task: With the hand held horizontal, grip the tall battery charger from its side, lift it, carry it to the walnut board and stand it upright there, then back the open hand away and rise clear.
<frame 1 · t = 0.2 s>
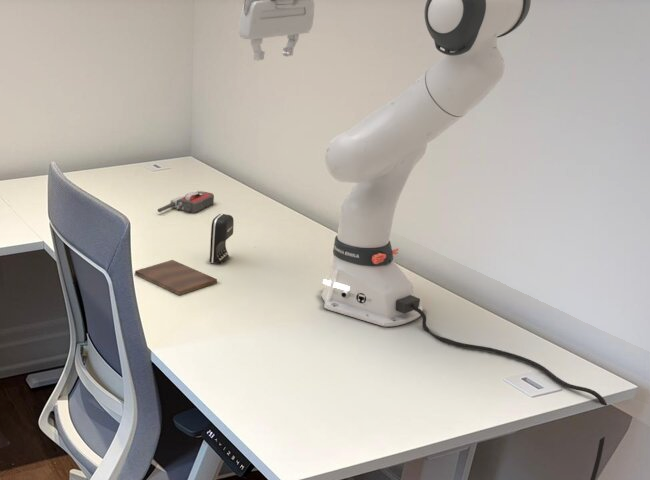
hand: (273, 58, 190), 48 cm above the table, tool pointing down, fingers open, 8 cm apart
walkie-talkie: (186, 209, 250), on the table
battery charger: (220, 261, 214), on the table
board: (175, 278, 204), on the table
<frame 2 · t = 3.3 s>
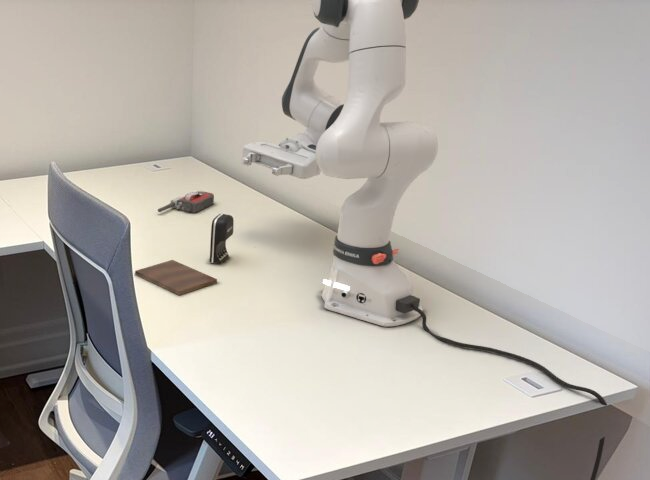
hand: (259, 167, 209), 22 cm above the table, tool horizontal, fingers open, 8 cm apart
nothing on the table moved.
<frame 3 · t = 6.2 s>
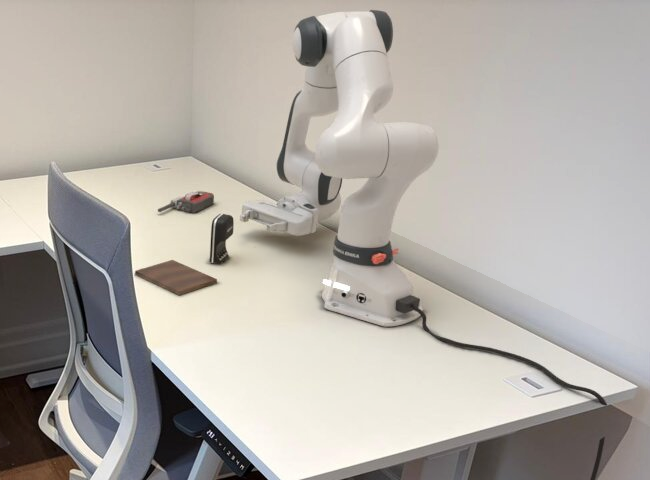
hand: (255, 223, 216), 7 cm above the table, tool horizontal, fingers open, 8 cm apart
nothing on the table moved.
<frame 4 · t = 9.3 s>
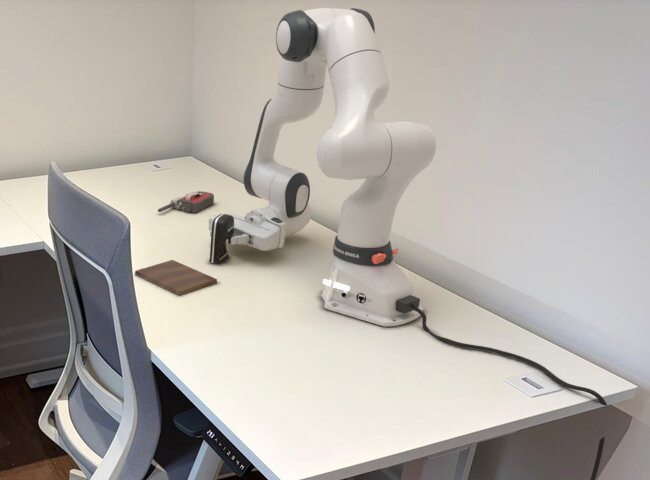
hand: (221, 237, 211), 6 cm above the table, tool horizontal, fingers closed on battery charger, 5 cm apart
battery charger: (220, 261, 214), on the table, touching gripper
everything else where it was.
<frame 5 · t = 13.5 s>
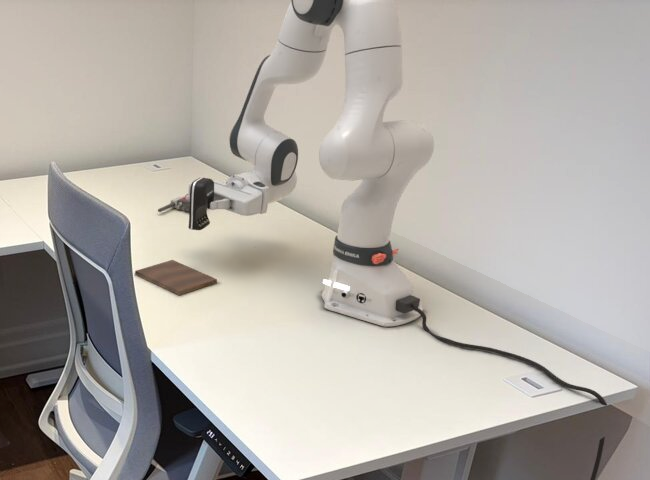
hand: (200, 202, 200), 17 cm above the table, tool horizontal, fingers closed on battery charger, 5 cm apart
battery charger: (201, 228, 203), point 11 cm above the table, touching gripper
everything else where it was.
when the fingers open (7 cm above the table, at t = 18.0 s): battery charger stays where it is, resting on board.
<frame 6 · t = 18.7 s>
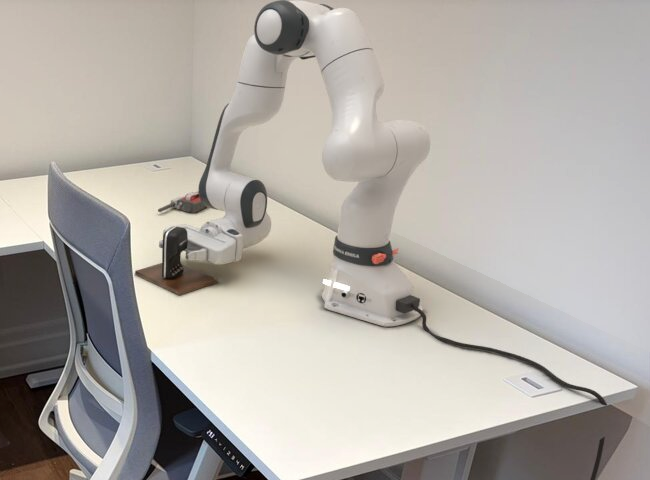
hand: (173, 250, 199), 7 cm above the table, tool horizontal, fingers open, 8 cm apart
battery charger: (174, 276, 203), point 1 cm above the table, touching board
everything else where it was.
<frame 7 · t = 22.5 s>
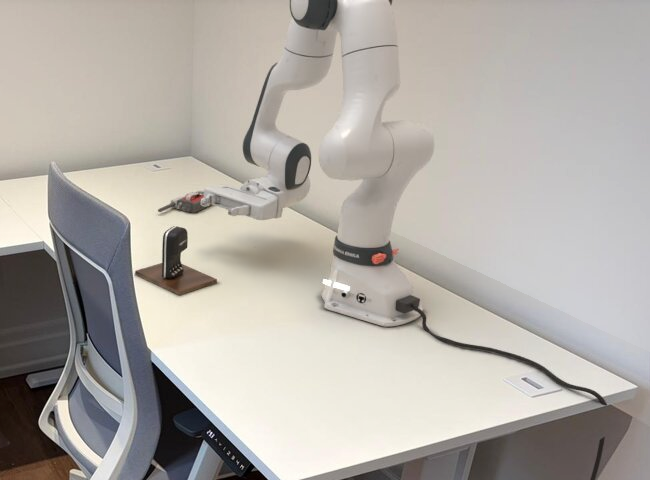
hand: (216, 207, 202), 15 cm above the table, tool horizontal, fingers open, 8 cm apart
nothing on the table moved.
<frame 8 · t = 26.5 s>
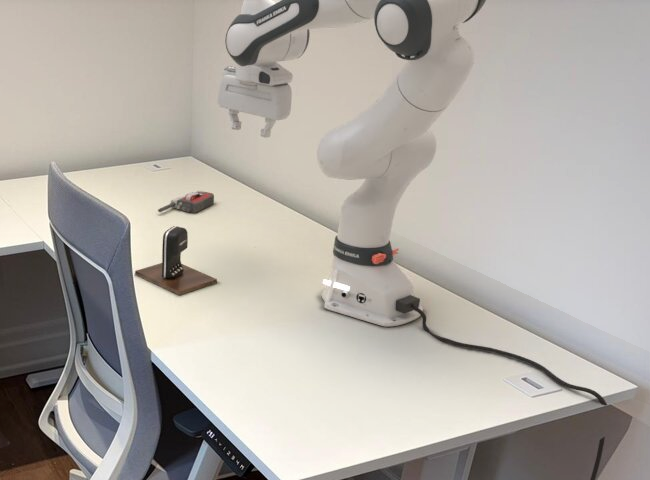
hand: (250, 133, 199), 31 cm above the table, tool pointing down, fingers open, 8 cm apart
nothing on the table moved.
at the end: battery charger inside the target area on the board (0.4 cm from its centre), point 0.8 cm above the board's base; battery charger tilted 0°; the gripper is holding nothing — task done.
